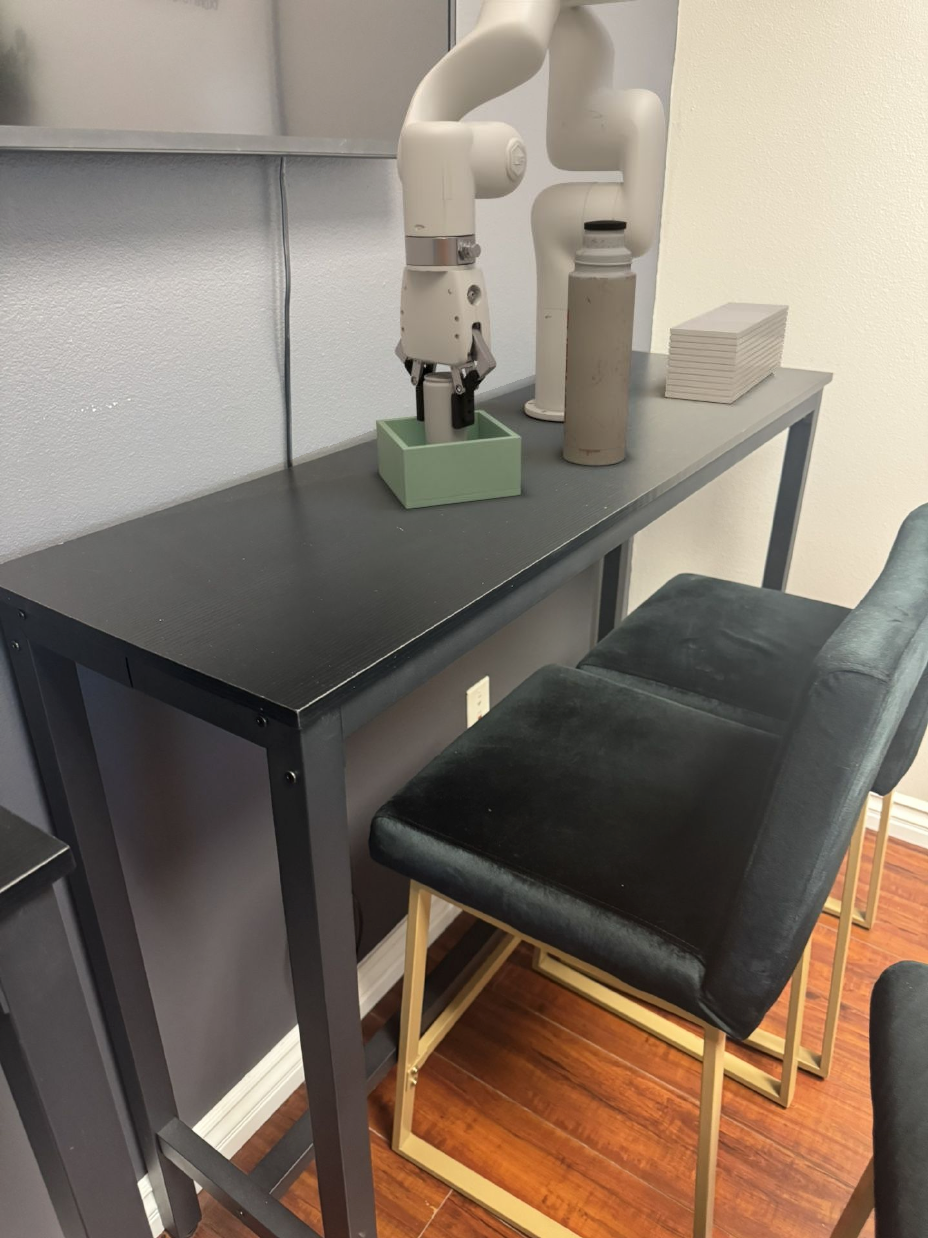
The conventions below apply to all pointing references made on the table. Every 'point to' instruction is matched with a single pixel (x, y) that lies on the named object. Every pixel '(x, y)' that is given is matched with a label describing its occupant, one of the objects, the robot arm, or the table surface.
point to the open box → (449, 462)
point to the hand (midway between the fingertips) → (445, 421)
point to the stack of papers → (725, 351)
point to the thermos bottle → (599, 346)
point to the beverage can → (440, 409)
